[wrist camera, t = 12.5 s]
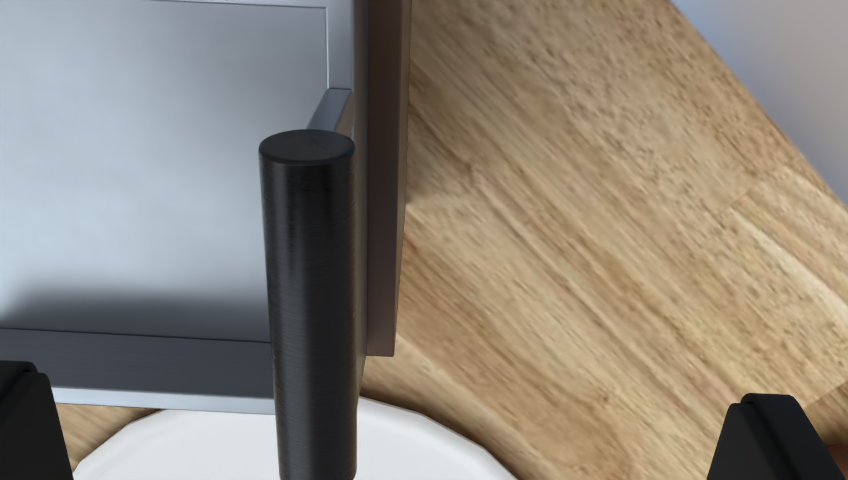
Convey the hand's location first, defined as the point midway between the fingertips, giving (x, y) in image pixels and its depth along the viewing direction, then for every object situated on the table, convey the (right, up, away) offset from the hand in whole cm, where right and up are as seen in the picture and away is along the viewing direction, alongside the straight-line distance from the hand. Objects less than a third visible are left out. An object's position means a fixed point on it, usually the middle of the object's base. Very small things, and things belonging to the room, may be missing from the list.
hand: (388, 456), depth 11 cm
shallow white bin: (-6, +5, +10) cm, 13 cm away
